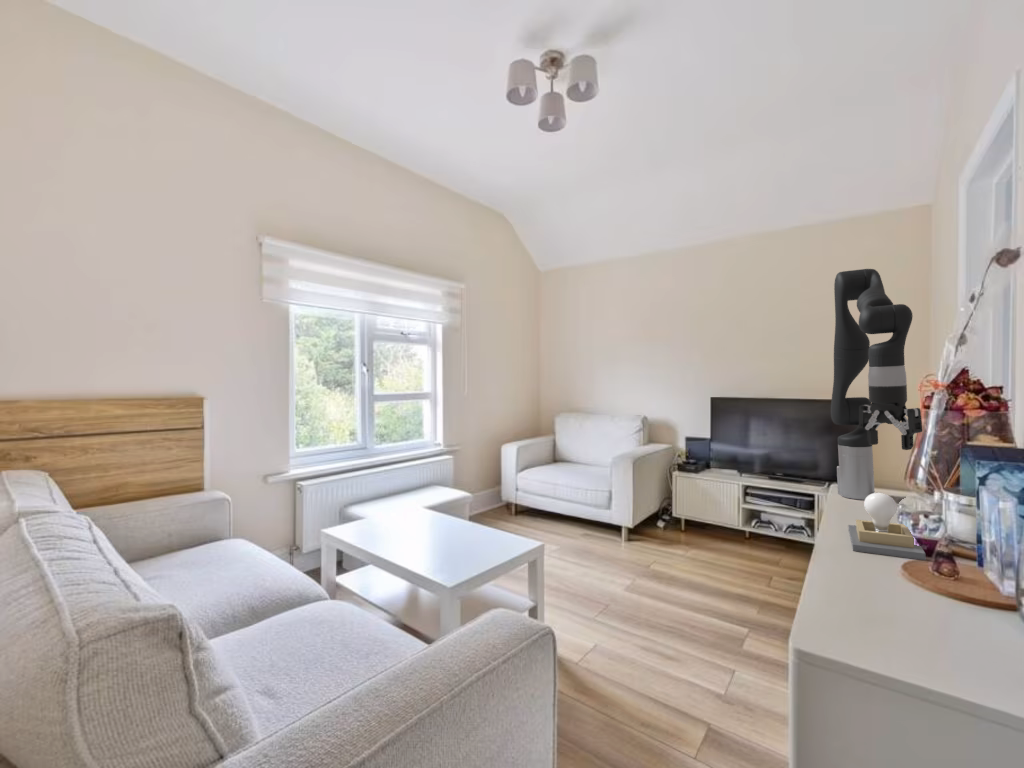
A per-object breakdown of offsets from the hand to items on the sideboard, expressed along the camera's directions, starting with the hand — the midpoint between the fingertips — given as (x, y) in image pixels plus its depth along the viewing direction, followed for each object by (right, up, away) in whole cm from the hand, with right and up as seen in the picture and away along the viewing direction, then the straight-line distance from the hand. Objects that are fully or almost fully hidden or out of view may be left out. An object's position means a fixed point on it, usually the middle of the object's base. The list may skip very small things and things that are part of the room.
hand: (889, 446), depth 116 cm
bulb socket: (-5, -23, -5) cm, 24 cm away
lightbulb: (-6, -22, -5) cm, 23 cm away
